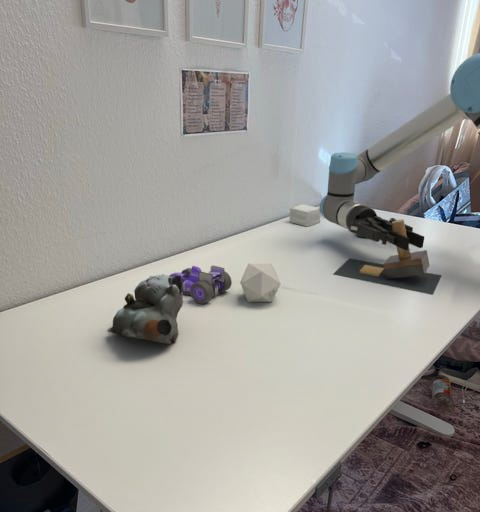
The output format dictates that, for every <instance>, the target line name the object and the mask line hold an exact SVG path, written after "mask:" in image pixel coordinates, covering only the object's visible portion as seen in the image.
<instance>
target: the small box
mask: <svg viewBox="0 0 480 512" xmlns="http://www.w3.org/2000/svg"><path fill="white" fill-rule="evenodd" d="M288 220H289V223H291V224H295V225H300V226H303V227H311V226H313V225H316V224H320V223H321V213H320V210H319V207H317V206H314V205H313V206H312V205H309V204H299V205H296V206H291V207H290V208H289V219H288Z"/></svg>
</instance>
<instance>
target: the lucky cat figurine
mask: <svg viewBox="0 0 480 512" xmlns="http://www.w3.org/2000/svg"><path fill="white" fill-rule="evenodd" d="M181 289H183V286H182V282H181V275H178V276H175V277H174V278H172V277H169V275H167V274H156V275H149V277H148V278H146V279H144V280H142V281H140V282H139V283H138V285H136V286H135V288H134V290H133V292H134V295H133V294H132V293H130V292H129V293H127V294H126V295H125V297H124V301H125V303H126V304H124V305H123V307H122V308H120V309H119V310H117V311H116V313H115V315H114V316H113V318H112V326H111V327H109V328H108V329H106V332H107V333H111V334H115V335H119V336H120V337H127V338H132V339H137V340H147V341H151V342H154V343H160V344H168V345H169V344H170V345H173V344H175V343H176V340H177V339H178V337H179V327H178V321H177V318H178V314H179V312H180V311H181V309H182V308H183V304H184V299H183V297H184V296H183V295H184V294H182V292H181Z"/></svg>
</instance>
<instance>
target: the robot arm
mask: <svg viewBox="0 0 480 512" xmlns="http://www.w3.org/2000/svg"><path fill="white" fill-rule="evenodd" d="M449 92H450V93H449V94H447V95H445V96H444V97H443V98H441V99H440V100H438V101H437V102H435V103H434V104H432V105H430V106H429V107H428V108H427V109H425V110H423V111H422V112H420V113H419V114H417V115H416V116H414V117H413V118H412V119H410V120H408V121H406V123H404V124H402V125H401V126H399V127H398V128H397V129H395V130H394V131H392V132H391V133H389V134H387V135H386V136H385V137H383V138H381V139H380V140H379V141H377V142H376V143H374V144H373V145H371V146H370V147H368V148H367V149H366V150H363V152H361V153H359V154H356V153H354V152H344V151H343V152H334V153H333V154H331V156H330V162H329V166H328V181H327V192H326V195H325V196H323V198H322V199H321V202H320V203H319V207H318V208H319V210H320V213H321V214H320V216H322V218H324V219H325V220H327V221H328V222H330V223H333V224H335V225H338V226H340V227H342V228H344V229H345V230H348V232H350V233H352V234H355V235H357V234H358V235H361V236H364V237H363V238H366V239H367V240H371V241H373V242H375V243H379V242H380V241H381V245H383V246H384V245H385V246H387V244H388V243H389V244H391V245H393V246H395V247H396V246H397V247H399V248H402V249H404V250H408V246H409V247H410V245H412V246H414V247H416V248H418V249H423V247H424V241H425V236H424V235H422V234H419V233H417V232H414V231H413V230H414V227H412V226H410V225H408V224H406V223H404V224H405V229H406V234H407V237H405V236H403V235H400V234H398V233H396V232H393V228H392V222H393V221H396V220H397V218H394V217H390V218H389V219H385V218H383V217H381V216H378V214H377V212H376V211H375V210H374V209H373V208H372V207H369V206H367V205H364V204H362V203H359V202H357V201H355V202H353V198H354V199H355V193H354V190H355V191H356V185H358V184H360V183H363V182H367V181H369V180H371V179H372V178H374V177H375V176H376V175H377V174H379V173H380V172H382V171H383V170H386V169H387V168H388V167H390V166H392V165H393V164H395V163H396V162H398V161H399V160H401V159H403V158H404V157H406V156H407V155H409V154H411V153H412V152H414V151H415V150H417V149H419V148H421V147H422V146H424V145H425V144H427V143H429V142H430V141H432V140H434V139H435V138H436V137H438V136H440V135H441V134H443V133H445V132H446V131H448V130H450V129H451V128H453V127H454V126H456V125H458V124H459V123H461V122H463V121H464V120H469V121H471V122H472V123H473V125H474V126H475V127H476V129H477V130H480V52H478V53H476V54H473V55H471V56H469V57H467V58H466V59H465V60H463V61H462V62H461V63H460V65H459V66H458V67H457V68H456V70H455V72H454V73H453V74H452V77H451V81H450V86H449ZM356 202H357V203H356ZM374 236H375V237H374ZM397 247H396V248H397Z"/></svg>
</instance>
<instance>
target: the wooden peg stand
mask: <svg viewBox="0 0 480 512" xmlns="http://www.w3.org/2000/svg"><path fill="white" fill-rule="evenodd" d="M405 224H406V223H405V220H404V219H403V218H401V219H396V221H393V222H392V228H393V232H396V233H398V234H400V235H403V236H405V237H407V234H406V229H405ZM395 247H396V251H397V254H394V255H389V256H388V258H387V259H386V260H385V261H384V263H382V264H383V267H384V272H385V276H386V280H387V279H394V278H402V277H409V276H416V275H424V274H425V272H426V273H427V271H428V269H429V267H430V265H431V264H430V259H429V255H428V250H427V249H425V250H418V251H413V252H411V250H410V245H409V246H408V250H404V249H402V248H399V247H397V246H395Z"/></svg>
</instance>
